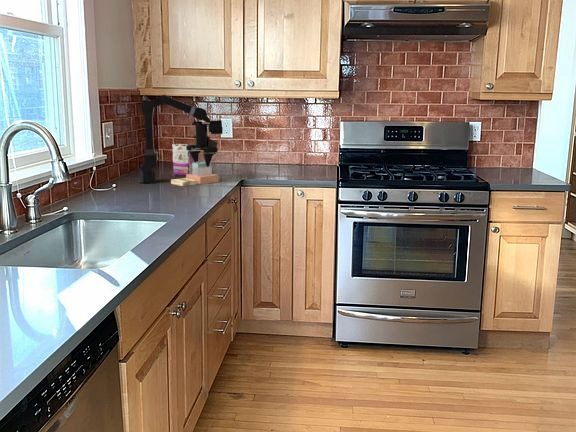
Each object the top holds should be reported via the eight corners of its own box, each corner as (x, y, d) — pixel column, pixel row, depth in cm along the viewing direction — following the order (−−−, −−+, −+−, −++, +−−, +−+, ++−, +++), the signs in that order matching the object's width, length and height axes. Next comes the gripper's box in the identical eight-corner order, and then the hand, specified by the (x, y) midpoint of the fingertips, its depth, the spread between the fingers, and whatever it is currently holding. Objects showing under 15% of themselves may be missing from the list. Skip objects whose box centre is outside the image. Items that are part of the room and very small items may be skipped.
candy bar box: (195, 175, 304) (194, 144, 300) (189, 176, 300) (188, 145, 296) (178, 173, 309) (177, 143, 306) (172, 174, 305) (171, 144, 301)
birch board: (182, 186, 269) (182, 182, 269) (171, 183, 276) (170, 179, 276) (196, 184, 275) (196, 180, 274) (184, 181, 282) (184, 177, 281)
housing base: (211, 174, 283) (211, 166, 282) (198, 176, 278) (198, 167, 277) (205, 173, 286) (205, 165, 286) (192, 174, 281) (192, 166, 280)
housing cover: (211, 166, 282) (211, 161, 281) (198, 168, 276) (198, 162, 276) (205, 165, 285) (205, 160, 285) (192, 166, 280) (192, 161, 279)
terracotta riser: (200, 184, 275) (200, 177, 274) (186, 181, 283) (186, 174, 283) (218, 181, 282) (218, 175, 282) (204, 179, 291) (204, 172, 290)
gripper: (226, 134, 277) (226, 166, 280) (203, 132, 290) (204, 162, 293) (207, 135, 269) (208, 168, 273) (185, 133, 282) (186, 164, 286)
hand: (202, 165), depth 281 cm, fingers open, 9 cm apart
